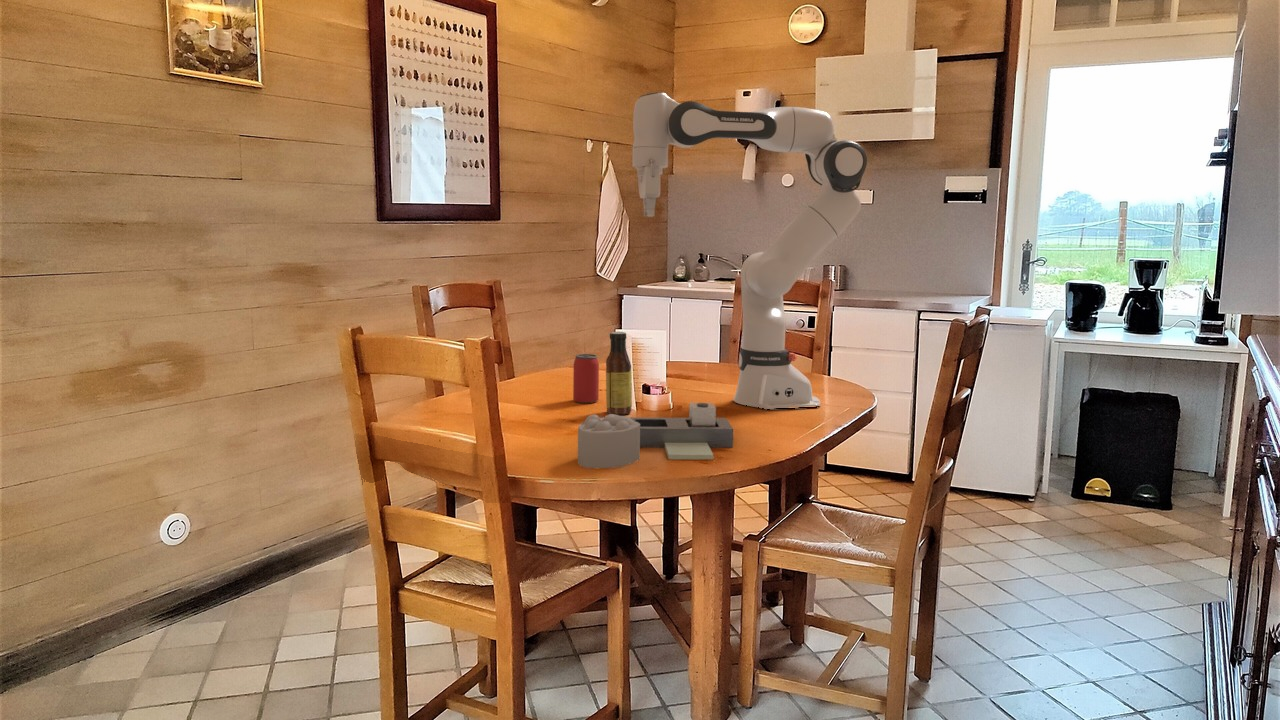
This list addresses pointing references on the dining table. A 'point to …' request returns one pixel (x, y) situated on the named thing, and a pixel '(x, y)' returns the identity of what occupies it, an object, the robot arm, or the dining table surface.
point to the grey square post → (702, 415)
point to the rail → (683, 432)
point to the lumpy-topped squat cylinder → (608, 441)
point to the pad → (688, 451)
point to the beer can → (586, 378)
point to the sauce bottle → (618, 376)
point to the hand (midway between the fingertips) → (649, 216)
